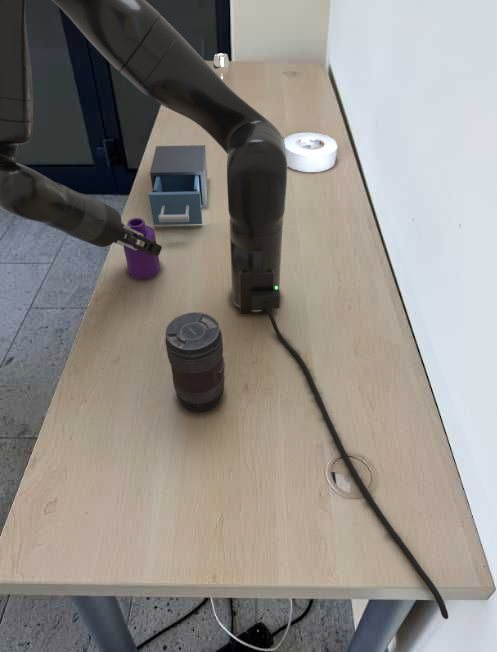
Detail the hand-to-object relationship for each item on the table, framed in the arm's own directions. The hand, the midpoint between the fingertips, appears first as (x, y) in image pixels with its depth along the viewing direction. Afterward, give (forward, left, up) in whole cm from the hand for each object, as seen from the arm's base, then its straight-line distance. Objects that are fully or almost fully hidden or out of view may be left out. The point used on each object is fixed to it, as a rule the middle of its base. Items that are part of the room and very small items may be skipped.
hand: (146, 244), depth 100 cm
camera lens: (-35, -12, -6) cm, 38 cm away
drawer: (+18, -5, -4) cm, 20 cm away
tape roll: (+49, -40, -6) cm, 63 cm away
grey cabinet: (+31, -5, -5) cm, 32 cm away
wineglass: (+108, -15, -6) cm, 109 cm away
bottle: (-1, +1, -5) cm, 6 cm away
